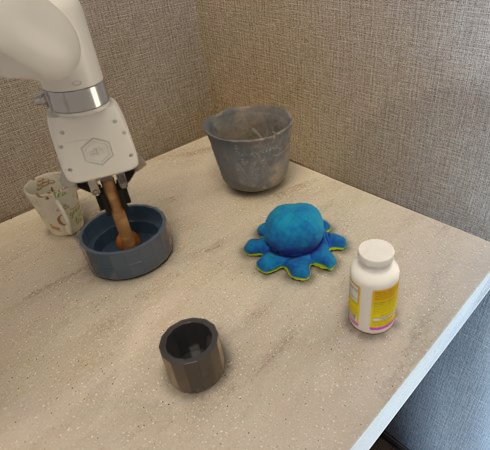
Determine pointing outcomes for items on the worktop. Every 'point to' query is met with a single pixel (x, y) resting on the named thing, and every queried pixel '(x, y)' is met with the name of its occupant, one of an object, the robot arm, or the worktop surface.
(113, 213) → the stick
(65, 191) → the mug
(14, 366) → the worktop surface
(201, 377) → the holder
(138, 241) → the bead
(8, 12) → the robot arm
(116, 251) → the mixing bowl
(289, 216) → the plush toy
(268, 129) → the grey bucket
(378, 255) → the supplement bottle
